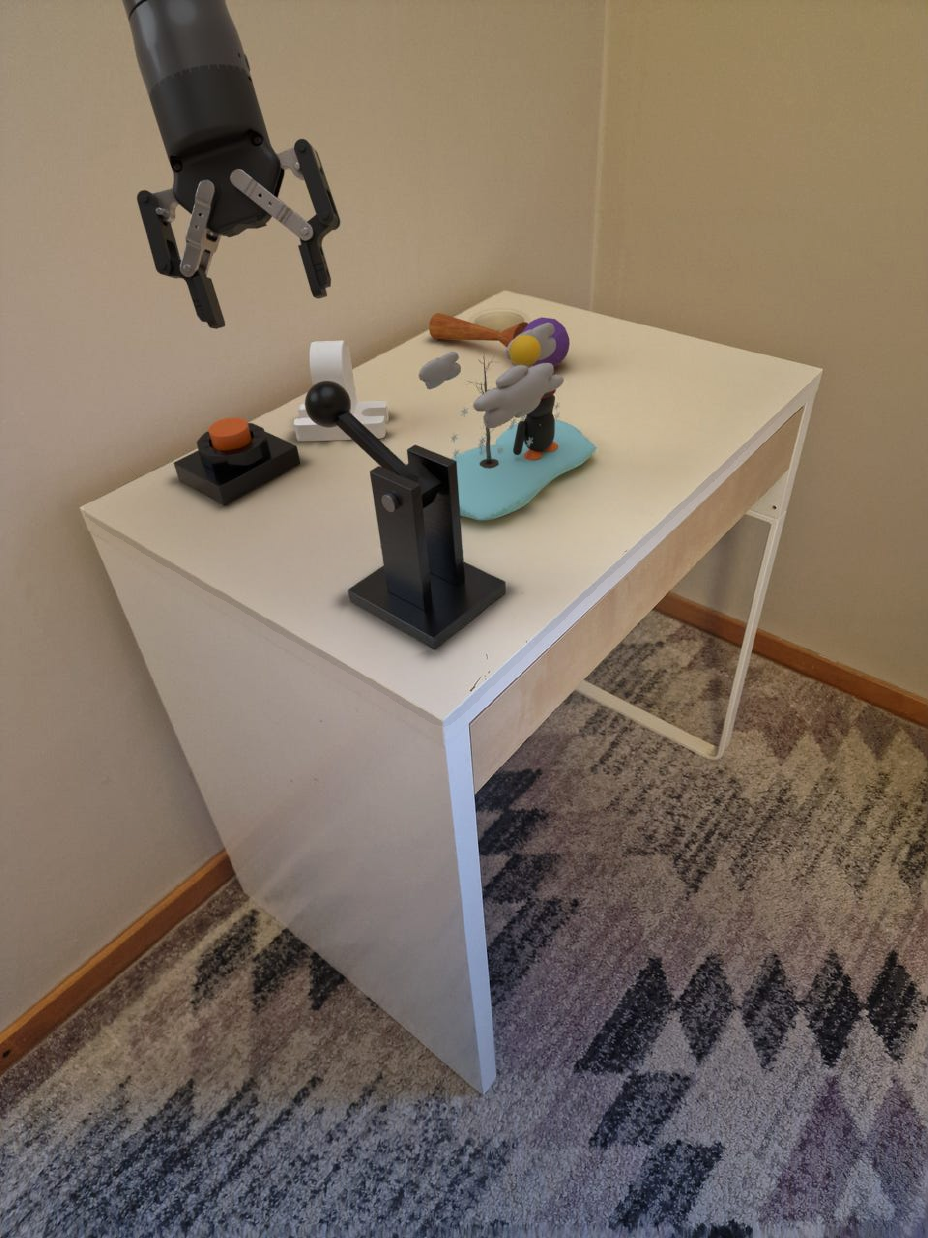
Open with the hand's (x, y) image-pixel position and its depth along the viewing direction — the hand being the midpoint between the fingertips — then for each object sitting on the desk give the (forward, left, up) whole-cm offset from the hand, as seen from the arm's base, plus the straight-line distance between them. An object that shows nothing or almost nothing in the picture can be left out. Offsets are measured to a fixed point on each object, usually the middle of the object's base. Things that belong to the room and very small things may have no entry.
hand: (268, 311), depth 66 cm
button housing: (+3, +16, -22) cm, 27 cm away
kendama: (+41, +12, -22) cm, 48 cm away
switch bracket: (0, -14, -22) cm, 26 cm away
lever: (0, -9, -10) cm, 13 cm away
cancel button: (+3, +16, -18) cm, 24 cm away
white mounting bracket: (+16, +14, -22) cm, 31 cm away
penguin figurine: (+19, -8, -22) cm, 30 cm away
